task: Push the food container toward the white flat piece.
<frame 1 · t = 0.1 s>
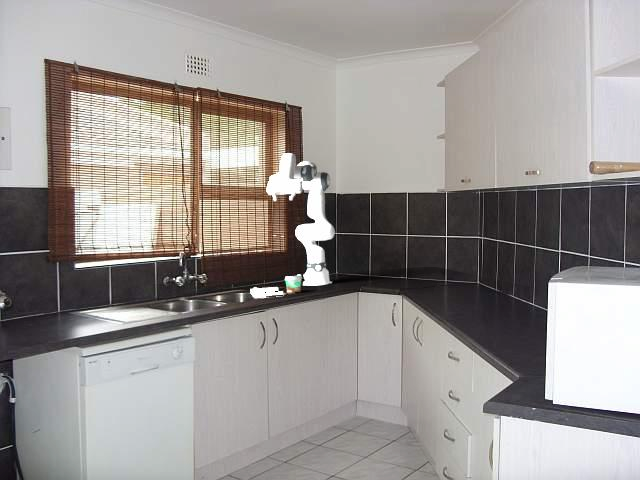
hand: (282, 200, 357), 54 cm above the worktop, tool tilted 30°, fingers open, 8 cm apart
white flat piece: (267, 294, 375), on the worktop
food container: (296, 292, 378), on the worktop
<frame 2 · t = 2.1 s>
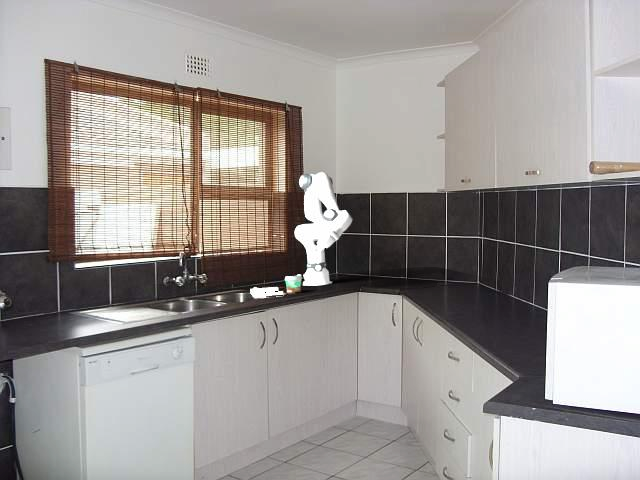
hand: (316, 251, 380), 23 cm above the worktop, tool tilted 45°, fingers open, 8 cm apart
nothing on the worktop moved.
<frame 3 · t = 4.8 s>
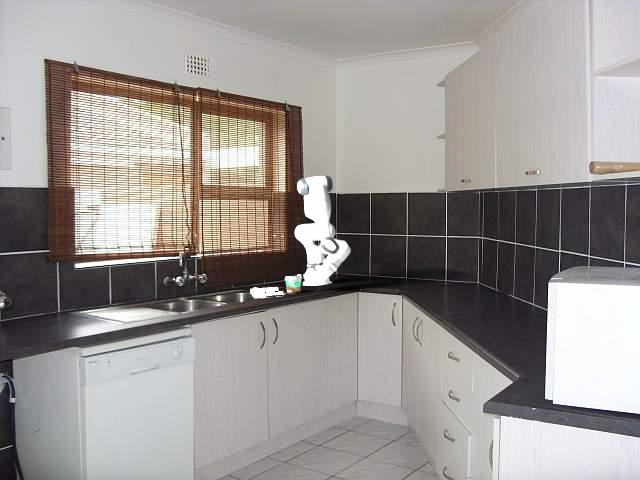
hand: (315, 282, 380), 5 cm above the worktop, tool tilted 45°, fingers closed
nothing on the worktop moved.
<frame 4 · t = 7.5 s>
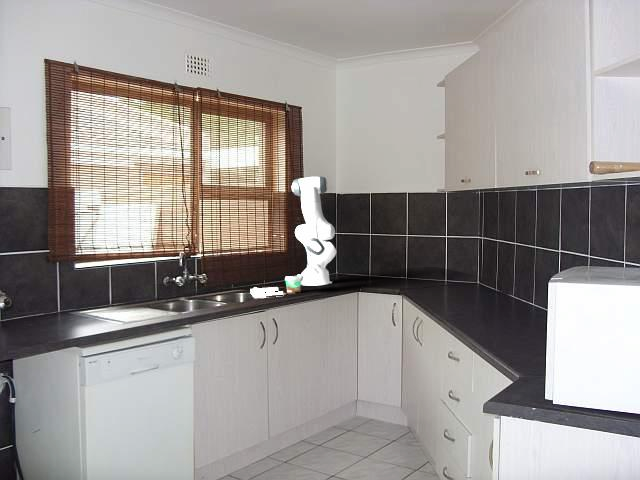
hand: (300, 283, 378), 5 cm above the worktop, tool tilted 45°, fingers closed
food container: (296, 292, 378), on the worktop, touching gripper
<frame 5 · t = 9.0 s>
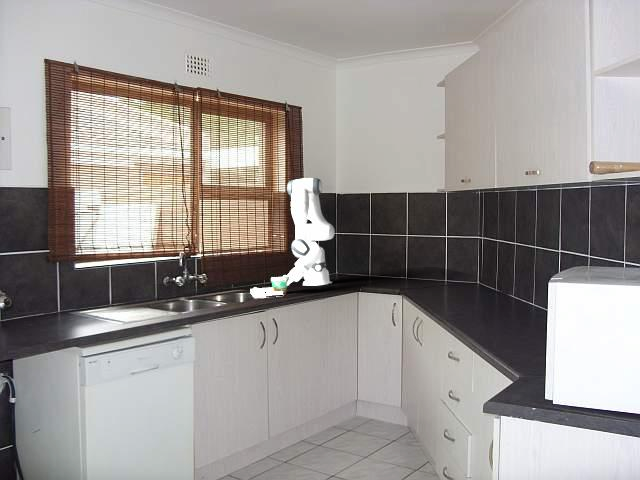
hand: (286, 284, 377), 5 cm above the worktop, tool tilted 45°, fingers closed
food container: (282, 293, 377), on the worktop, touching gripper
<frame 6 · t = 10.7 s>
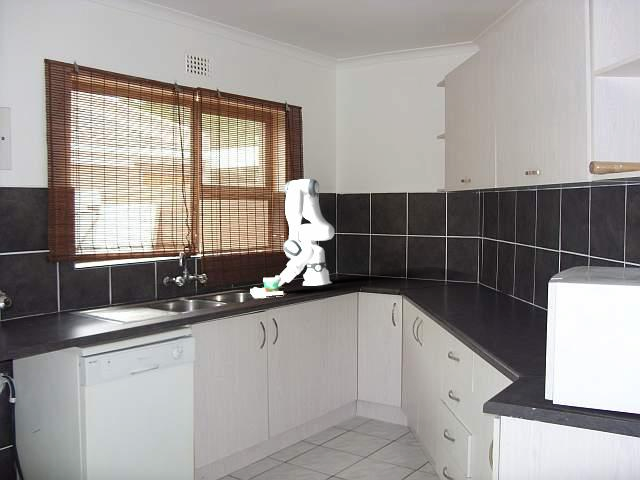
hand: (278, 285, 376), 5 cm above the worktop, tool tilted 45°, fingers closed
food container: (274, 294, 376), on the worktop, touching gripper
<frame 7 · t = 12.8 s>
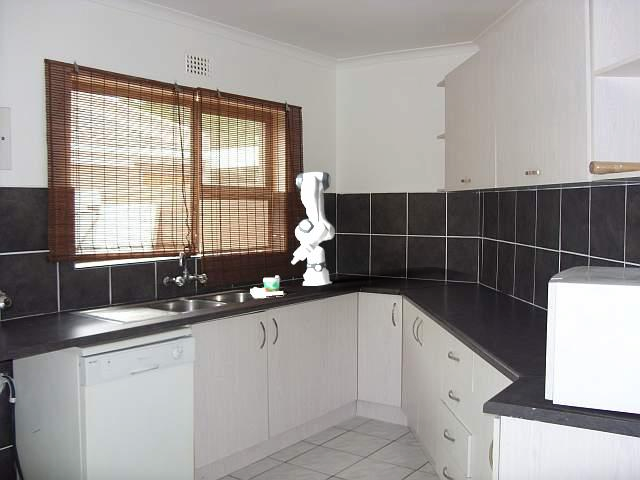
hand: (292, 263, 377), 17 cm above the worktop, tool tilted 45°, fingers closed
food container: (274, 294, 376), on the worktop
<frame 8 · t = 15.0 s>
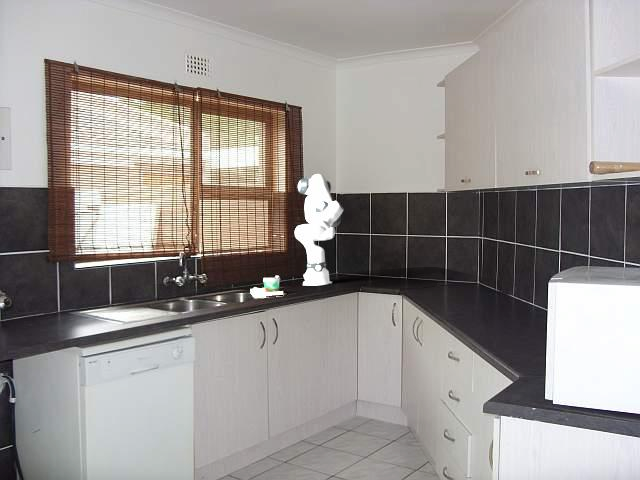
hand: (307, 241, 380), 29 cm above the worktop, tool tilted 45°, fingers closed
nothing on the worktop moved.
at the end: food container inside the target area (3.4 cm from its centre), on the worktop; food container tilted 0°; food container moved 12.9 cm from its start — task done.
